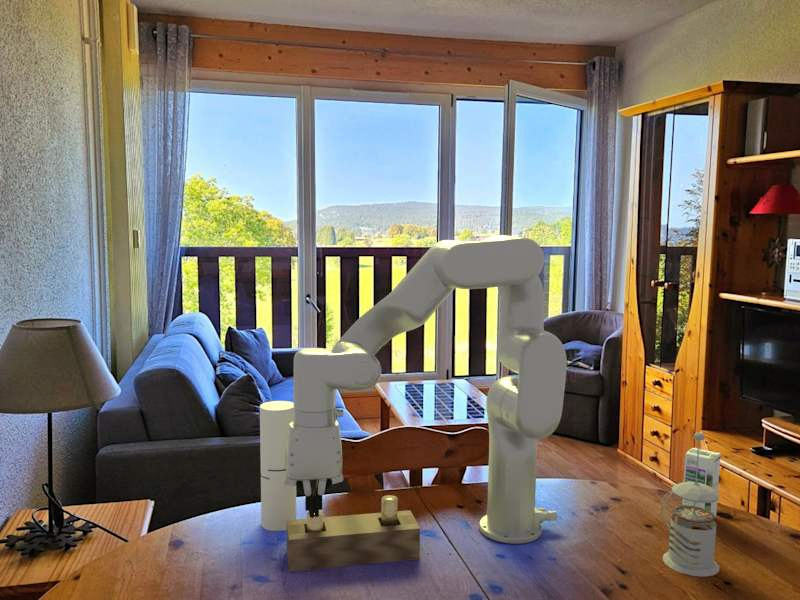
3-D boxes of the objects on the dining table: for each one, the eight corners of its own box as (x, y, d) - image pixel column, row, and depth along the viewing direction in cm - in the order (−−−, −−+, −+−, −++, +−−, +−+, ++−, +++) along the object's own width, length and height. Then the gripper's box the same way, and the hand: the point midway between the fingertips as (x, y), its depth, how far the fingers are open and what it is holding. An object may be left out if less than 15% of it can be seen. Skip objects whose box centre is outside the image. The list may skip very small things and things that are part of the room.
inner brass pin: (395, 524, 132) (395, 494, 131) (398, 531, 129) (399, 501, 128) (380, 525, 131) (380, 495, 130) (382, 532, 128) (383, 502, 127)
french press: (694, 581, 121) (703, 444, 118) (643, 552, 131) (650, 425, 128) (731, 568, 125) (741, 436, 122) (679, 542, 136) (687, 419, 133)
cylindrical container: (289, 532, 138) (288, 411, 134) (255, 529, 139) (254, 409, 136) (301, 517, 144) (300, 402, 141) (269, 514, 146) (268, 399, 143)
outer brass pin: (322, 539, 129) (322, 509, 128) (324, 547, 126) (324, 516, 125) (306, 541, 128) (306, 510, 128) (307, 548, 125) (307, 517, 125)
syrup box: (680, 518, 146) (684, 452, 145) (689, 509, 151) (693, 445, 149) (708, 526, 143) (712, 459, 141) (716, 517, 147) (721, 451, 145)
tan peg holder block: (409, 539, 135) (410, 510, 135) (419, 559, 128) (420, 528, 127) (286, 550, 130) (286, 520, 130) (289, 571, 123) (288, 539, 122)
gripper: (352, 409, 129) (351, 502, 132) (271, 412, 126) (271, 508, 128) (358, 421, 122) (356, 519, 124) (273, 424, 119) (273, 525, 121)
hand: (313, 513), depth 126 cm, fingers closed
